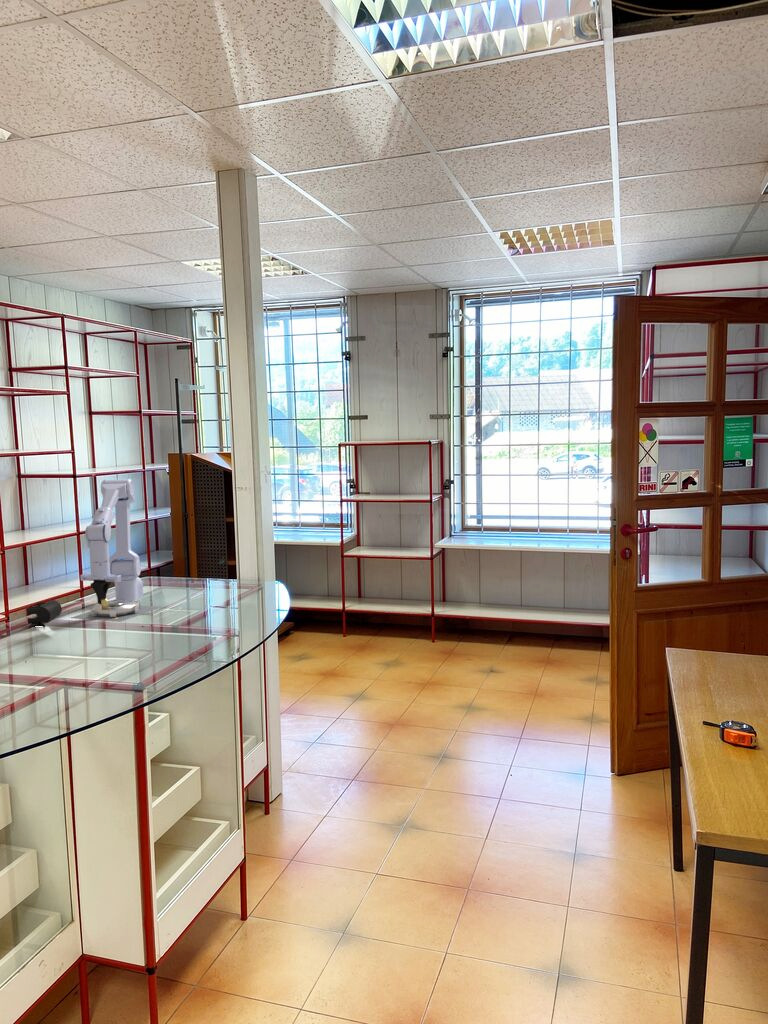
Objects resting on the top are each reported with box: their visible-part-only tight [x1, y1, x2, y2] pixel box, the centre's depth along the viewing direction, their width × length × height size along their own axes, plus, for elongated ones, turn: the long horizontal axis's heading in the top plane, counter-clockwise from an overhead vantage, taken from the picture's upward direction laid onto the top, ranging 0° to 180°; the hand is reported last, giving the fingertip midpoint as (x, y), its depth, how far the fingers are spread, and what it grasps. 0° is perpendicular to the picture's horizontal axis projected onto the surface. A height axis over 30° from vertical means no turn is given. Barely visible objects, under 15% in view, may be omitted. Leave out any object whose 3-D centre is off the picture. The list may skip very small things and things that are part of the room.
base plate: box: [70, 605, 161, 622], centre depth 237 cm, size 20×20×2 cm
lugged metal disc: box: [90, 598, 142, 617], centre depth 236 cm, size 14×16×5 cm
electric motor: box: [26, 599, 63, 628], centre depth 230 cm, size 10×7×7 cm
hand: (102, 603), depth 232 cm, fingers closed, pressing on lugged metal disc
